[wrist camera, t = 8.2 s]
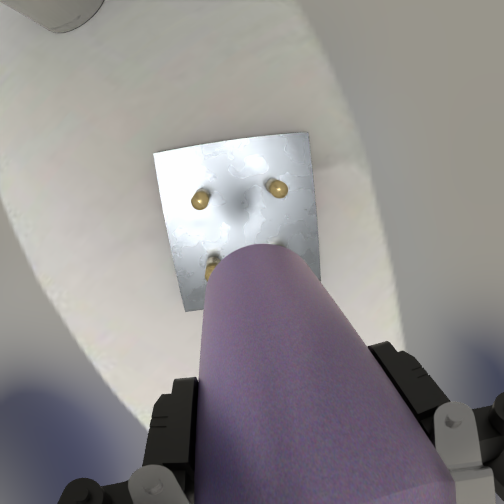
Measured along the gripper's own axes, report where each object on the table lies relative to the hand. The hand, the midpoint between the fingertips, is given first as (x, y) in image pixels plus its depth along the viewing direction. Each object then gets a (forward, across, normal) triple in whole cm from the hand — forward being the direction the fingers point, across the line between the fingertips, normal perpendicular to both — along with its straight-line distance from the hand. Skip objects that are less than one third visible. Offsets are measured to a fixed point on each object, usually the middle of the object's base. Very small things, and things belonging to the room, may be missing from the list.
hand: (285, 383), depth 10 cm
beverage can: (+8, 0, 0) cm, 8 cm away
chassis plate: (+25, 0, 0) cm, 25 cm away
